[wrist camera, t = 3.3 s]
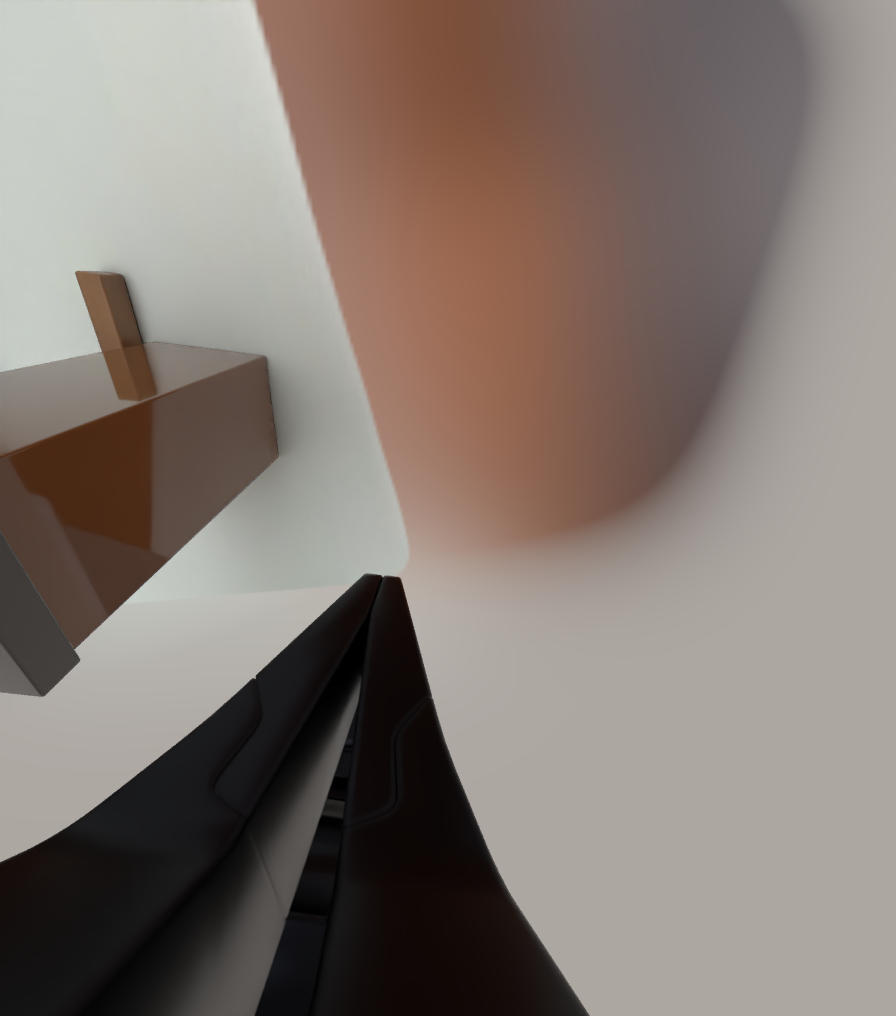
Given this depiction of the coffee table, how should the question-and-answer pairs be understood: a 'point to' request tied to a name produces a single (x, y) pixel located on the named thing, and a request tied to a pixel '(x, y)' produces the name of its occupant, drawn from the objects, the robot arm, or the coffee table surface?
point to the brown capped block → (113, 485)
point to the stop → (109, 309)
